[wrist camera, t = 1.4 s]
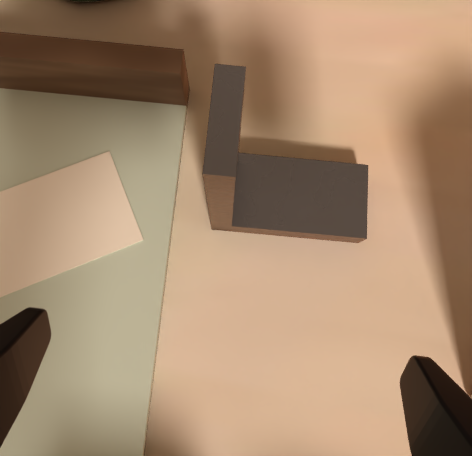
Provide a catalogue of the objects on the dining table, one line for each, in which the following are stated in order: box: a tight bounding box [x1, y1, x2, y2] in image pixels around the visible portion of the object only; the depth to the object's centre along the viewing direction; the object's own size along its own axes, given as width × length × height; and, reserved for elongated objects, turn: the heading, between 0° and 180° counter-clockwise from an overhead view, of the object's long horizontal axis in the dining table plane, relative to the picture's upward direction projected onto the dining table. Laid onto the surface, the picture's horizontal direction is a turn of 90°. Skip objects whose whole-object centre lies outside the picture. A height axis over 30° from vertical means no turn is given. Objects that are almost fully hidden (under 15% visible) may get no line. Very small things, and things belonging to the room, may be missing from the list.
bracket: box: [203, 64, 368, 243], centre depth 20 cm, size 4×9×10 cm, turn 85°
